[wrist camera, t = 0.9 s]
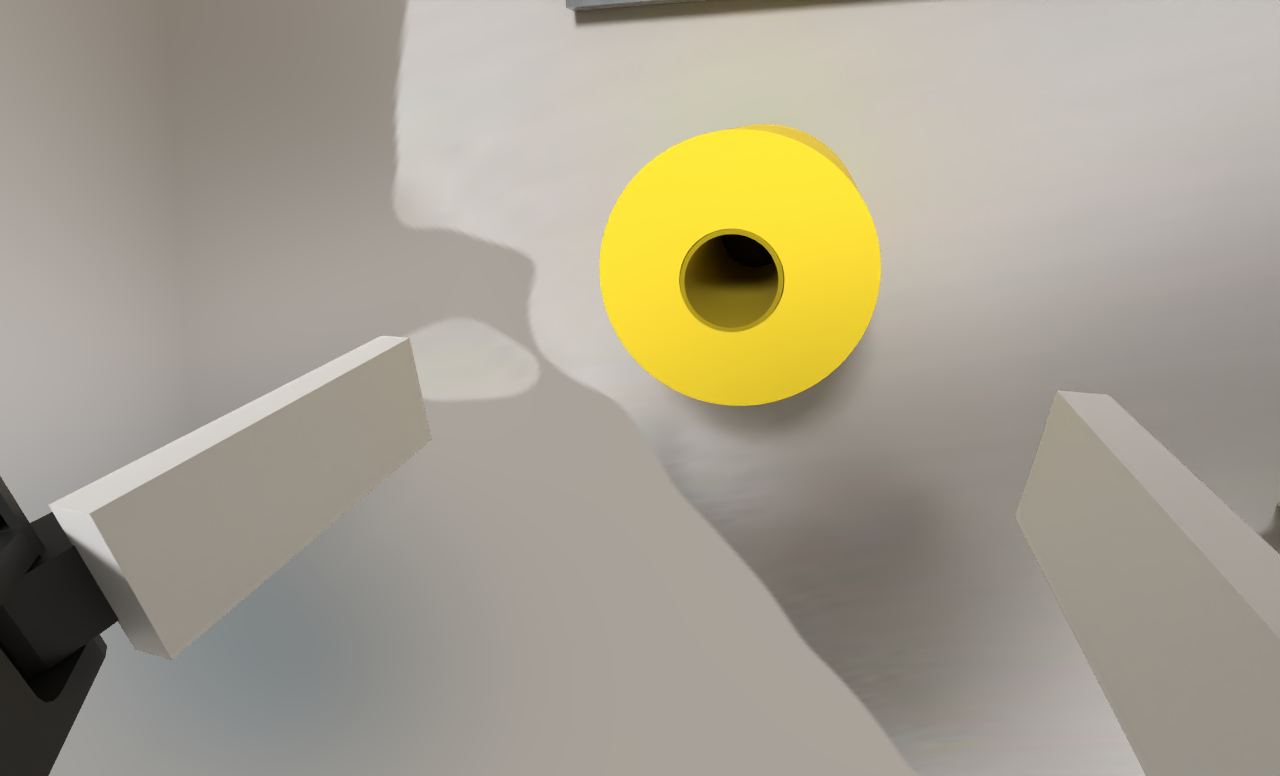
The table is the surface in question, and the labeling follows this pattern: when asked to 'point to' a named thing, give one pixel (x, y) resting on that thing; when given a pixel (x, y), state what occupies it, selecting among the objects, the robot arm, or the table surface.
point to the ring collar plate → (614, 3)
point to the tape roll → (732, 293)
